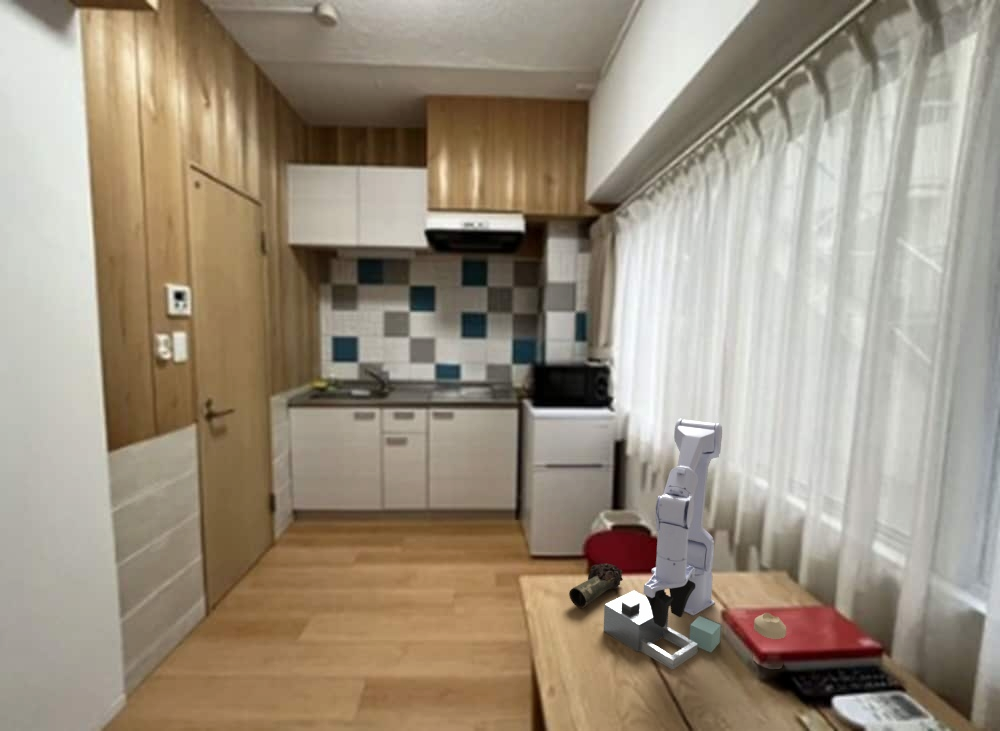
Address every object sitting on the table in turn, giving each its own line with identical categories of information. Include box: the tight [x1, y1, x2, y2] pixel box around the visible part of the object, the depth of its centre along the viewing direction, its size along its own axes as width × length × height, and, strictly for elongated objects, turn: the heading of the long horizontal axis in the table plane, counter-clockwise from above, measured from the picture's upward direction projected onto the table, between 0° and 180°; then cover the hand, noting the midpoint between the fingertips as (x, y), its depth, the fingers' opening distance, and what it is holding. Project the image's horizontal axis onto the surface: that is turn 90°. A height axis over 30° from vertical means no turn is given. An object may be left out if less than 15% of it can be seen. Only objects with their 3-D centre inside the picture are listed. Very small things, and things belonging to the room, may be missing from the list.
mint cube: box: [689, 614, 722, 653], centre depth 106 cm, size 4×4×5 cm
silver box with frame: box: [603, 590, 699, 670], centre depth 107 cm, size 13×16×8 cm
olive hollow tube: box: [568, 563, 623, 609], centre depth 124 cm, size 18×7×6 cm, turn 136°
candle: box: [753, 612, 787, 639], centre depth 99 cm, size 6×6×10 cm
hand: (668, 619), depth 102 cm, fingers open, 5 cm apart
